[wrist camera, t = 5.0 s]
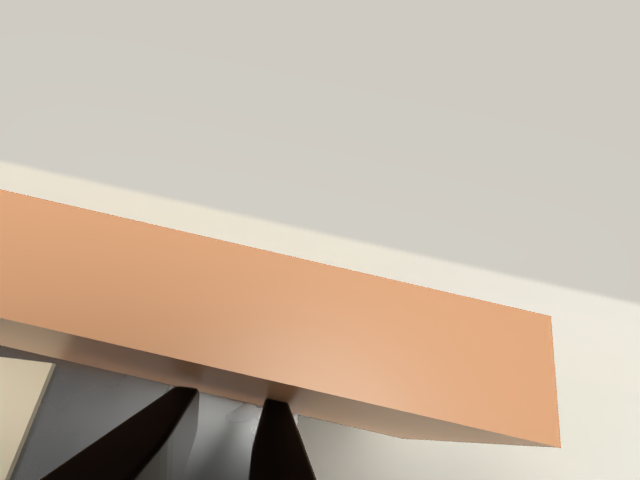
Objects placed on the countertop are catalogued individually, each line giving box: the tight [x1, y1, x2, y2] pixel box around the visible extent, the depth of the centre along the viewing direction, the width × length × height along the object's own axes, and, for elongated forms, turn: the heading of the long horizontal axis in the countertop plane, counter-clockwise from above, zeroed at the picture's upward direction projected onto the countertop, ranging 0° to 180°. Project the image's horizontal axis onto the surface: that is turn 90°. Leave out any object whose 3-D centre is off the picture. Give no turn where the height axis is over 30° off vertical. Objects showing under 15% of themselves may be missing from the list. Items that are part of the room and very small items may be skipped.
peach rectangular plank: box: [0, 189, 561, 448], centre depth 7 cm, size 2×14×6 cm, turn 78°
